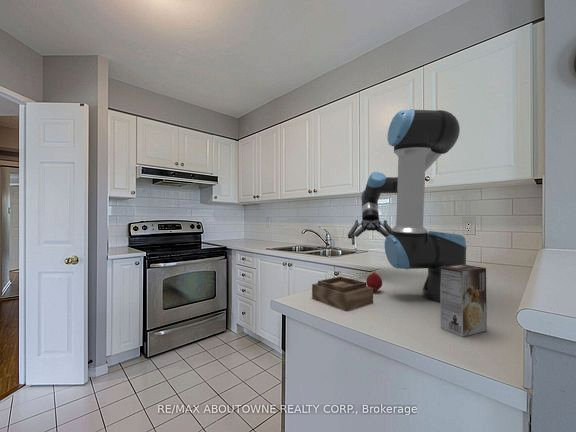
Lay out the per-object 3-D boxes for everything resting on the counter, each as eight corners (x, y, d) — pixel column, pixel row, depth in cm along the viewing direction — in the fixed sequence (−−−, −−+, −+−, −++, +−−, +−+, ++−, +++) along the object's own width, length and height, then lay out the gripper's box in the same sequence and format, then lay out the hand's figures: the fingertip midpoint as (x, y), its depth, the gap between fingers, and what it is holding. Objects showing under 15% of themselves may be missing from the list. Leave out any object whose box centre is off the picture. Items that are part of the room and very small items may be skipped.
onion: (383, 294, 102) (383, 272, 102) (367, 293, 103) (367, 272, 103) (381, 290, 108) (381, 269, 108) (365, 289, 109) (365, 269, 109)
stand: (373, 303, 92) (373, 283, 92) (346, 311, 84) (346, 289, 84) (337, 292, 105) (337, 275, 105) (312, 298, 97) (312, 280, 97)
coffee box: (462, 322, 75) (462, 263, 75) (487, 331, 70) (487, 267, 69) (439, 327, 72) (439, 266, 72) (463, 337, 66) (463, 270, 66)
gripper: (397, 220, 130) (403, 256, 115) (343, 220, 136) (342, 254, 121) (399, 208, 125) (405, 245, 110) (343, 209, 131) (341, 244, 116)
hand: (372, 250), depth 116 cm, fingers open, 13 cm apart
